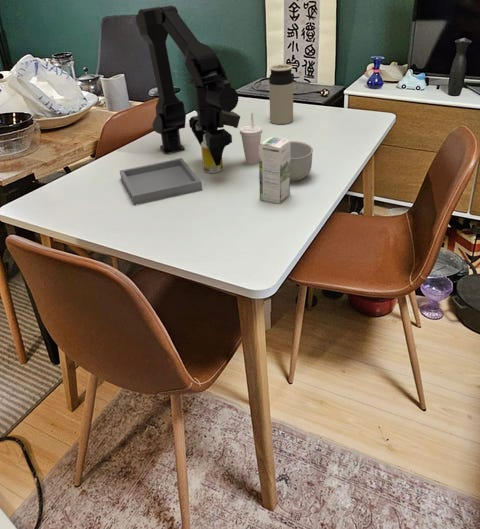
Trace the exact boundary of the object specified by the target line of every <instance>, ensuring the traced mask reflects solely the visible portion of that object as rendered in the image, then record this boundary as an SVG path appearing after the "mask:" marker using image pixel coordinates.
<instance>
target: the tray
mask: <svg viewBox="0 0 480 529" xmlns="http://www.w3.org/2000/svg"><path fill="white" fill-rule="evenodd" d="M119 174H120V179H121V181H122V183H123V185H124V188H125V189H126V191H127V194H128V196H129V197H130V199H131V201H132V203H133V205H134V206H137V205H136V204H138V205H142V204H145V203H150V202H155V201H159V200H164V199H169V198H173V197H177V196H182V195H186V194H190V193H195V192H200V191H203V186H202V185H203V184H202V180H201V179H200V178H199V177H198V175H197V174H196V173H195V172H194V171H193V169H192V168H191V167H190V165H188V164H187V163H186V161H185V160H184V158H182V157H180V158H176V159H170V160H166V161H160V162H155V163H151V164H145V165H140V166H136V167H135V166H134V167H131V168H125V169H121V170H119ZM141 203H142V204H141Z"/></svg>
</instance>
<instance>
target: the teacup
mask: <svg viewBox="0 0 480 529" xmlns="http://www.w3.org/2000/svg"><path fill="white" fill-rule="evenodd" d="M290 141H291V153H290V182H298V181H301V180H302V179H304V178H306V176H308V175H309V174H310V173H311V171H312V166H313V165H312V164H313V152H314V148H313V147H312V146H311V145H310V144H308V143H306V142H302V141H298V140H297V141H293V140H290Z"/></svg>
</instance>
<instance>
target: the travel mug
mask: <svg viewBox="0 0 480 529" xmlns="http://www.w3.org/2000/svg"><path fill="white" fill-rule="evenodd" d="M292 69H293V65H292V64H286V63H280V64H274V65H271V66H269V70H270V75H269V77H268V83H269V84H268V86H269V87H268V88H269V89H268V90H269V120H270V123H272V124H275V125H287V124H290V123H292V122H294V75H293V74H292Z"/></svg>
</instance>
